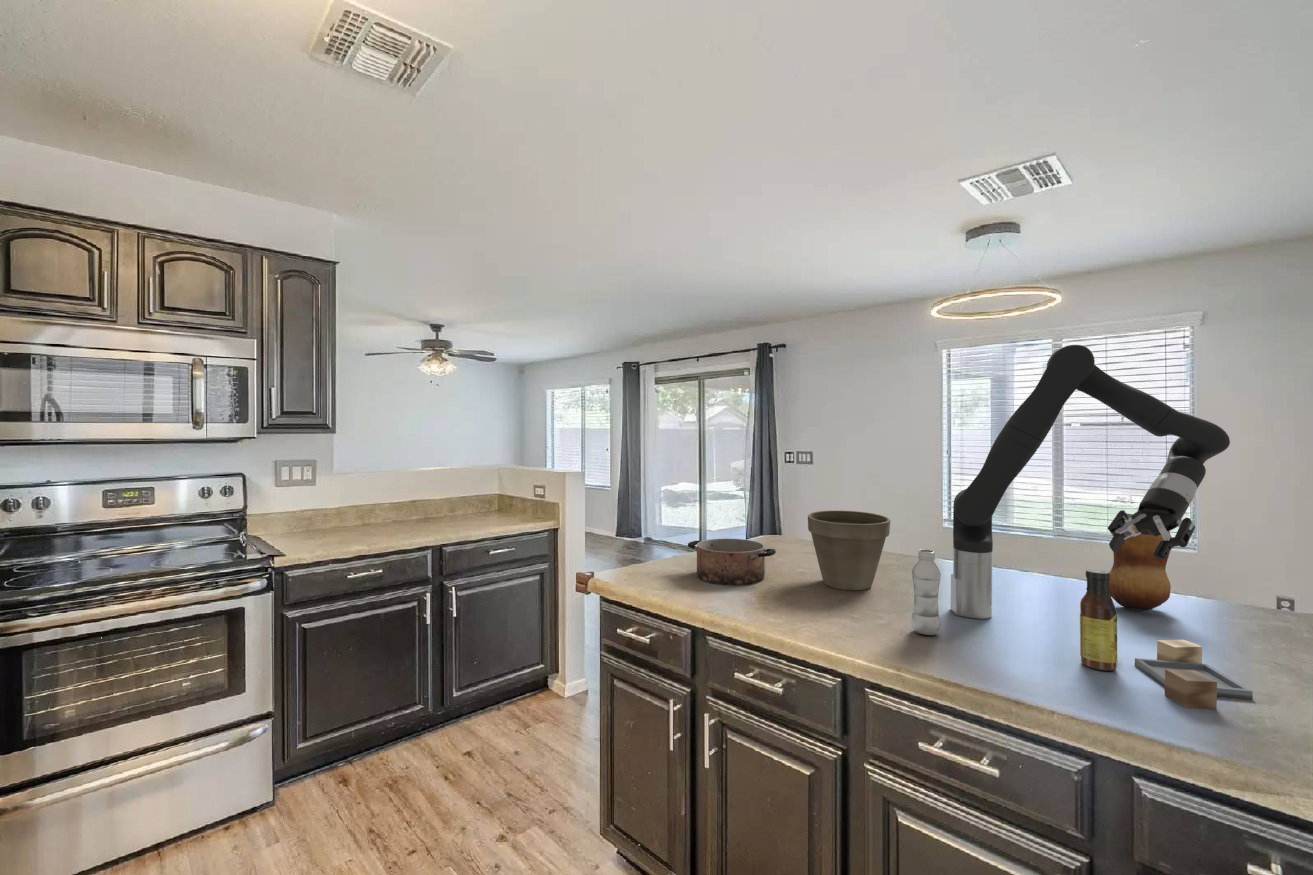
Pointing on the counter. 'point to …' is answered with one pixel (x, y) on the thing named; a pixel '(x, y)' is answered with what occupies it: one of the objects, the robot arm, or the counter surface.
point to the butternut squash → (1139, 574)
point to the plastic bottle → (926, 594)
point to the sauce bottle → (1098, 623)
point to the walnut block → (1191, 689)
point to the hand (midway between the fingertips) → (1134, 553)
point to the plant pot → (848, 546)
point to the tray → (1224, 683)
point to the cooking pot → (731, 561)
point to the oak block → (1179, 651)
